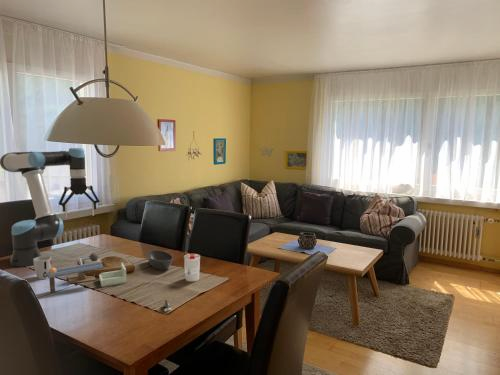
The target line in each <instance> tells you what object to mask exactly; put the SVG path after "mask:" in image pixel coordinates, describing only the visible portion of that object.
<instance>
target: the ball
mask: <svg viewBox="0 0 500 375" xmlns="http://www.w3.org/2000/svg"><path fill="white" fill-rule="evenodd" d="M56 269H57V268H56V267H51V268H50V269H49V273H50V274H51V273H56V272H57V270H56Z"/></svg>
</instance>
